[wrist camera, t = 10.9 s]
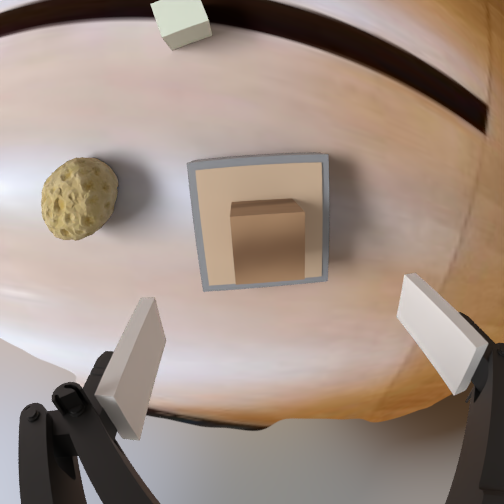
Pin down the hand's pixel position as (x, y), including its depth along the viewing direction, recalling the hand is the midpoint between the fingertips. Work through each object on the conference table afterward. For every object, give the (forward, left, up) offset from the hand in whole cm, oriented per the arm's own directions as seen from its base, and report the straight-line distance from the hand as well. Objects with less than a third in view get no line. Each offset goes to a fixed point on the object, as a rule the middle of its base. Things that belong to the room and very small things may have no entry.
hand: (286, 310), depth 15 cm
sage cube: (-24, -7, -22) cm, 33 cm away
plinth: (0, 0, -22) cm, 22 cm away
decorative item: (-5, -21, -22) cm, 31 cm away
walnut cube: (+1, 0, -16) cm, 16 cm away
